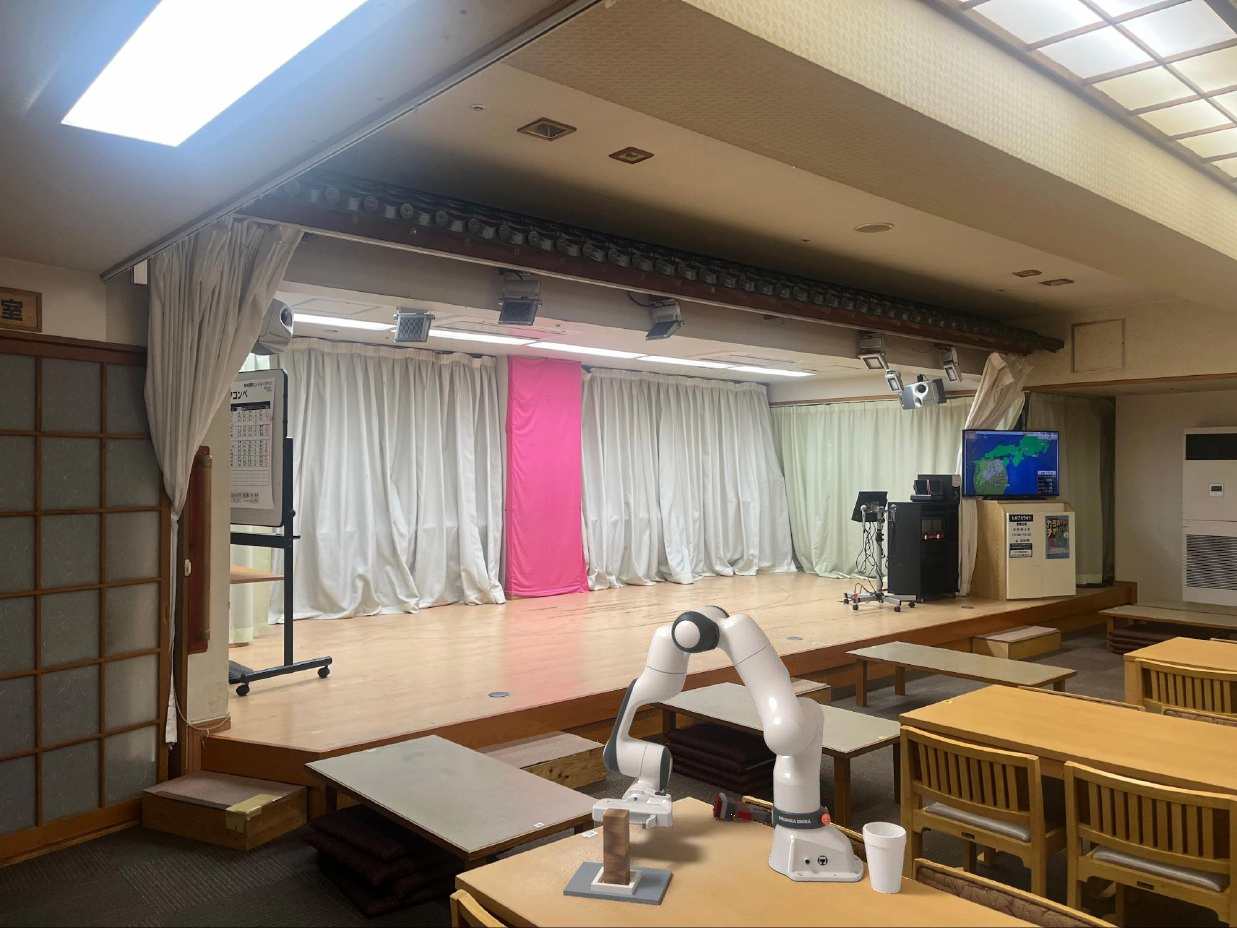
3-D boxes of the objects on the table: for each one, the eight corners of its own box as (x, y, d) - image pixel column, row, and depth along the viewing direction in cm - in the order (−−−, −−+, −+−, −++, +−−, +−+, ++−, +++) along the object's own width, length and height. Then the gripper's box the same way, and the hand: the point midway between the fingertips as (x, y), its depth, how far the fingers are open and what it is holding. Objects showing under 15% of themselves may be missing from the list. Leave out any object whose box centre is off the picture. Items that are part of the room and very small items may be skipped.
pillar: (630, 879, 199) (629, 809, 199) (624, 888, 194) (624, 817, 195) (609, 877, 200) (608, 807, 201) (603, 886, 195) (602, 815, 196)
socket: (641, 876, 200) (641, 870, 200) (632, 894, 191) (631, 888, 191) (602, 872, 203) (602, 866, 203) (591, 890, 193) (591, 883, 194)
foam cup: (864, 893, 193) (862, 835, 193) (864, 876, 201) (862, 820, 202) (908, 898, 190) (907, 839, 191) (906, 880, 199) (904, 824, 199)
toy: (762, 821, 244) (710, 812, 244) (766, 799, 244) (714, 790, 244) (768, 833, 235) (715, 823, 235) (772, 810, 236) (719, 800, 235)
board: (671, 874, 204) (671, 869, 204) (658, 904, 188) (658, 900, 188) (583, 865, 209) (583, 861, 209) (563, 894, 194) (563, 890, 194)
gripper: (599, 789, 223) (584, 807, 209) (676, 794, 218) (666, 814, 204) (599, 813, 222) (584, 833, 209) (677, 820, 217) (667, 841, 204)
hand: (625, 824), depth 206 cm, fingers open, 8 cm apart
